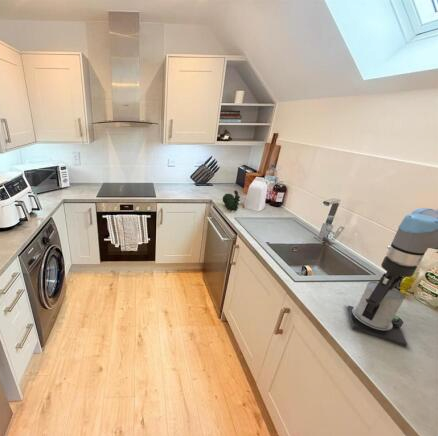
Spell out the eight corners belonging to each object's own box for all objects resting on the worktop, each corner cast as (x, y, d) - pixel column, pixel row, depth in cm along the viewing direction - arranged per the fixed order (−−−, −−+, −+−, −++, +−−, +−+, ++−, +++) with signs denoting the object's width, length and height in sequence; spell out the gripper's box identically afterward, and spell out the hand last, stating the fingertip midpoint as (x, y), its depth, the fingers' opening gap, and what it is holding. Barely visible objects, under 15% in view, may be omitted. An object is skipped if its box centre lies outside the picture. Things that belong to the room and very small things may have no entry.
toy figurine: (240, 215, 187) (229, 202, 209) (245, 193, 178) (233, 181, 199) (228, 215, 186) (218, 202, 208) (232, 193, 177) (222, 182, 199)
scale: (397, 322, 88) (400, 316, 87) (409, 348, 78) (413, 342, 77) (347, 306, 95) (349, 301, 94) (352, 329, 85) (355, 323, 84)
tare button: (396, 318, 87) (397, 315, 86) (398, 322, 85) (399, 320, 84) (386, 315, 88) (388, 312, 87) (388, 319, 86) (390, 317, 85)
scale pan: (387, 314, 88) (387, 313, 88) (396, 335, 79) (397, 334, 79) (350, 303, 93) (350, 302, 93) (355, 322, 84) (355, 321, 84)
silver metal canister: (395, 331, 80) (412, 303, 75) (362, 323, 83) (375, 296, 78) (380, 311, 89) (394, 284, 84) (350, 304, 91) (362, 279, 87)
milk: (244, 207, 198) (249, 177, 188) (250, 204, 205) (255, 175, 195) (258, 211, 190) (264, 180, 179) (264, 208, 197) (270, 177, 187)
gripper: (400, 246, 85) (377, 292, 93) (369, 265, 73) (346, 316, 82) (430, 255, 79) (403, 304, 87) (401, 278, 67) (373, 332, 76)
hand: (375, 310), depth 85 cm, fingers open, 13 cm apart
